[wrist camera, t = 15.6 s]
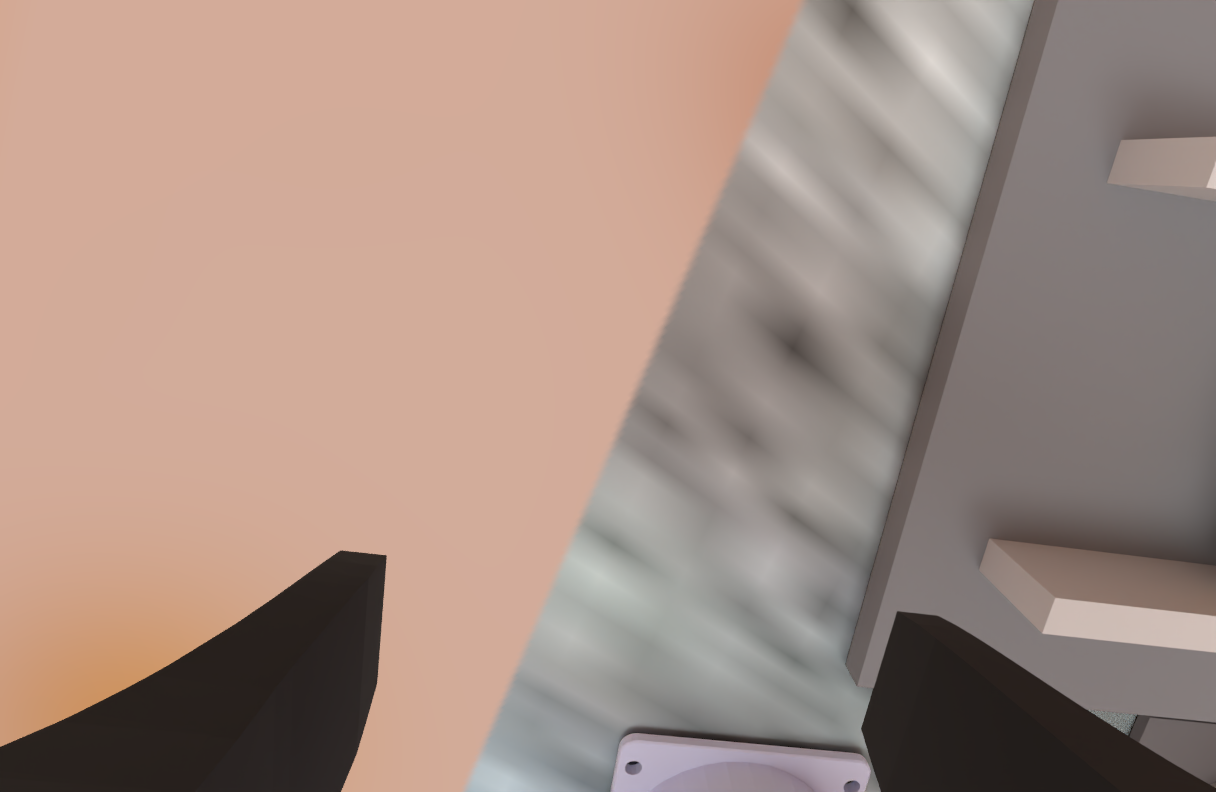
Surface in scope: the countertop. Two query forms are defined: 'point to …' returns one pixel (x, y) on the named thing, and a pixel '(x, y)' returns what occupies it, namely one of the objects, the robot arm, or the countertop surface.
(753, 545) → the countertop surface
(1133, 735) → the rubber pad
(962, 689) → the robot arm
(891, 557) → the socket board
